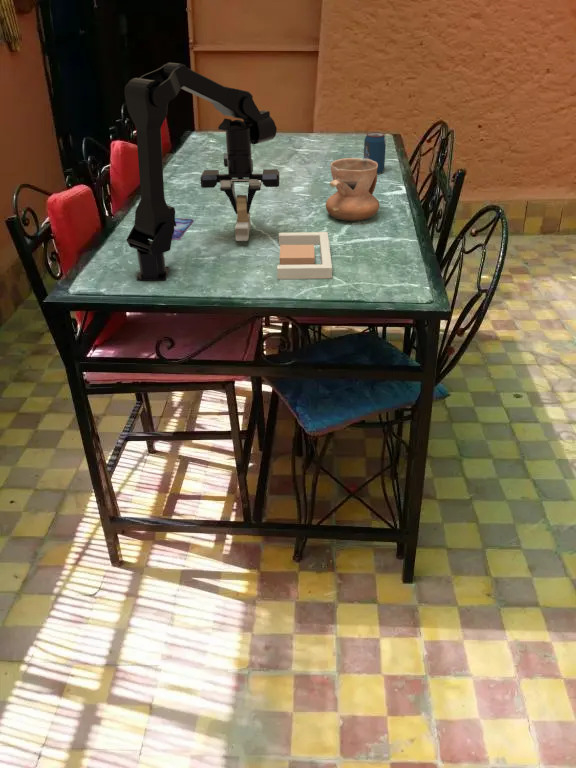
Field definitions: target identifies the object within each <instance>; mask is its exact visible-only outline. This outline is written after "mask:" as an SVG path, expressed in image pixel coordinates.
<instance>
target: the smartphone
mask: <svg viewBox="0 0 576 768" xmlns="http://www.w3.org/2000/svg"><path fill="white" fill-rule="evenodd" d="M194 222H195V221H194V219H193V218H182V217H175V223H176V225H177V226H176V227H175V226H174V234H173V236H172V241H173V240H177V241H179V240H181V239H182V238H183V236H184V235H185V234H186V233H187V231H188V230H189V229H190V227H191V226H192V225H193V224H194ZM188 228H189V229H188ZM187 229H188V230H187ZM185 232H186V233H185ZM184 233H185V234H184ZM181 237H182V238H181Z"/></svg>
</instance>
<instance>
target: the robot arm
mask: <svg viewBox="0 0 576 768" xmlns="http://www.w3.org/2000/svg"><path fill="white" fill-rule="evenodd" d="M181 90H184V91H185V92H188V93H190V94H192V95H194V96H197V97H198V98H200V99H203V100H205V101H207V102H209V103H211V104H212V105H213V108H214V109H215V110H217V111H218V112H219V113H221V114H222V115H223V116H225V117H226V116H227V117H232V118H234V119H235V120H232V119H230V118H224V119H223V121H221V123H219V125H218V127H217V129H218V130H220V131H223V132H225V141H226V142H225V143H226V152H223V166H224V167H225V168H227V171H228V173H226V174H225V173H224V174H223V173H222V174H221V173H220V172H219V169H204V170H203V171H202V173H201V175H200V181H199V182H200V188H204V189H206V188H210V189H212V188H213V189H214V188H215V187H216V186H217V185H218V183H219V184H220V188H219V190H220V191H221V192H224V193H225V195H226V196H227V198H228V200H229V202H230V204H231V205H232V208H233V210H234V213H235V214H236V215H237V201H236V197H237V195H236V190H235V183H248V188H247V214H249V212H250V211H251V206H252V202H253V199H254V197H255V195H256V192H257V191H261V189H262V185H263V186H264V187H266V188H278V187H280V171H279V170H278V169H277V168H273V169H272V168H271V169H270V168H269V169H267V168H265V169H262V173H253V172H254V164H253V163H254V162H253V158H252V145H257V144H262V143H264V142H268V141H272V140H273V139H275V137H276V136H277V132H278V131H277V126H276V123H275V120H274V119H273V118H272V117H271V114H270V113H271V112H270V110H269V111H268V110H265V109H264V110H259V108H258V107H257V104H256V103H255V101H254V99H253V98H254V96H253V94H252V93H251V92H250V91H247V90H243V89H238V88H232V87H228V86H225V85H222V84H220V83H219V82H216V81H214V80H212V79H211V78H208V77H206V76H204V75H203V74H200V73H198V72H197V71H194V70H193V69H191V68H189V67H187V66H186V65H185V64H183V63H177V62H167V63H165V64H163V65H162V66H160V67H159V68H157V69H154V70H153V71H149V72H147V73H145V74H143V75H141V76H140V77H134V78H132V79H130V80H129V81H128V83H126V85H125V87H124V100H125V104H126V109H127V112H128V115H129V117H130V119H131V120H132V122H133V124H134V126H135V132H136V146H137V160H138V163H137V164H138V172H139V173H138V174H139V177H138V178H139V186H140V188H139V189H140V200H139V202H138V204H137V207H136V209H135V213H134V215H135V216H134V224H133V226H132V229H131V230H130V232H129V234H128V236H127V238H126V239H125V241H126V242H127V244H128V246H129V248H131V249H132V248H133V249H135V250H136V254H137V261H138V268H139V272H138V274H137V276H136V281H165V280H167V277H168V275H169V272H170V270H171V267H170V266H166V261H165V260H166V259H165V253H167V252H169V251H171V246H172V241H173V240H172V236H173V234H174V226H175V227H176V226H177V225H176V223H175V218H176V209H175V207H174V206H171V205H168V204H167V201H166V199H165V186H164V167H163V166H164V165H163V164H164V163H163V147H162V126H163V124H164V122H165V119H166V117H167V115H168V105H169V102H171V101H172V100H174V99H175V98H176V97H177V96H178V94H179V93H180V91H181Z"/></svg>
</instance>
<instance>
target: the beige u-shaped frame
mask: <svg viewBox="0 0 576 768" xmlns="http://www.w3.org/2000/svg"><path fill="white" fill-rule="evenodd" d="M328 234H329V233H328V231H320V232H319V231H315V232H312V231H311V232H308V231H307V232H306V231H305V232H302V231H301V232H299V231H297V232H279V233H278V246H280V245H314V246H319V252H320V254H319V256H320V263H319V264H315V265H280V264H277V266H276V269H277V270H276V272H277V273H276V274H277V280H309V279H310V280H312V279H313V280H314V279H321V280H322V279H326V280H327V279H329V280H330V279H332V278H333V266H332V265H333V264H332V257H331V249H330V241H329V235H328Z"/></svg>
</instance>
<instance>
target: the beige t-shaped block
mask: <svg viewBox="0 0 576 768" xmlns="http://www.w3.org/2000/svg"><path fill="white" fill-rule="evenodd" d="M247 197H248V194H237V195H236V201H237V214H236V217H237V219H236V222H235V223H236V224H235V228H234V234H235V241H237V242H238V241H239V242H240V241H241V242H247V241H249V239H250V238H249V236H250V229H251V224H252V223H251V212H250V211H249V214H247Z"/></svg>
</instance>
